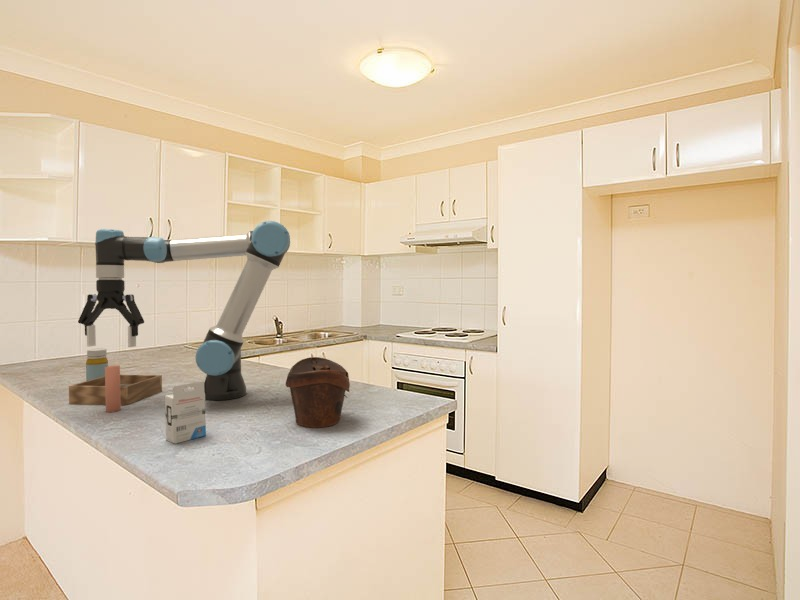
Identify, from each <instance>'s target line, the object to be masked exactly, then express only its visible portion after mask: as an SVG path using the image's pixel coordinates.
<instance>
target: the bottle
mask: <svg viewBox="0 0 800 600" xmlns="http://www.w3.org/2000/svg"><path fill="white" fill-rule="evenodd" d="M86 356H87V359H86V362H85V377H86V378H85V379H86V380H85V381H89V380H92V379H96V378H100V377H103V376H105V367H106V366H109V361H108V357H107V349H106V348H102V347H101V348H91V349H87V350H86Z"/></svg>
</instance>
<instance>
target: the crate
mask: <svg viewBox="0 0 800 600" xmlns="http://www.w3.org/2000/svg"><path fill="white" fill-rule="evenodd" d="M161 392H163V376H162V375H161V374H120V398H121V406H128V405H131V404H133V403H135V402H138V401H140V400H144V399H145V398H148V397H151V396H153V395H156V394H158V393H161ZM68 405H90V406H91V405H95V406H97V405H99V406H101V405H103V406H106V393H105V376H103V377H100V378H96V379H92V380H89V381H86V380H85V381H83V382H79V383H75V384H71V385H68Z"/></svg>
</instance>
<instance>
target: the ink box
mask: <svg viewBox="0 0 800 600" xmlns="http://www.w3.org/2000/svg"><path fill="white" fill-rule="evenodd" d="M204 382H205V380H201V381H196V382H190V383H183V384H180V385H179V384H178V385H173V386H172V394H167V395H165V396H164V405H165V407H164V408H165V410H164V411H165V413H164V414H165V438H166V439H165V440H166V441H168V442H170V443H172V444H180V443H183V442H188V441H191V440H195V439H198V438H202V437H205V436H207V427H206V425H207V424H206V423H207V422H206V420H207V419H206V418H207V417H206V416H207V415H206V399H205V393H204ZM188 388H194V389H189V390H185V389H188Z"/></svg>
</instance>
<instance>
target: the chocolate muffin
mask: <svg viewBox="0 0 800 600" xmlns="http://www.w3.org/2000/svg"><path fill="white" fill-rule="evenodd" d="M350 386H351V383H350V376H349V372H348V371H347V369H345V368H344V367H343V366H342V365H341V364H339V363H337V362H336V361H333V360H331V359H329V358H325V357H317V356H316V357H315V356H311V357H307V358H302V359H301V360H299V361H297V362H296V363H295V364H294V365H292V366H291V367H290V370H289V371H288V373H287V377H286V381H285V387H287V388H289V391H290V395H291V396H290V397H291V402H292V406H293V411H294V418H295V423H296V424H297V425H298V426H301V427H306V428H312V429H317V428H319V429H320V428H327V427H331V426H334V425H336V424H338V423H339V422H340V420H341V416H342V411H343V407H344V401H345V398H347V395H346V392H348V393H350Z"/></svg>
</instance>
